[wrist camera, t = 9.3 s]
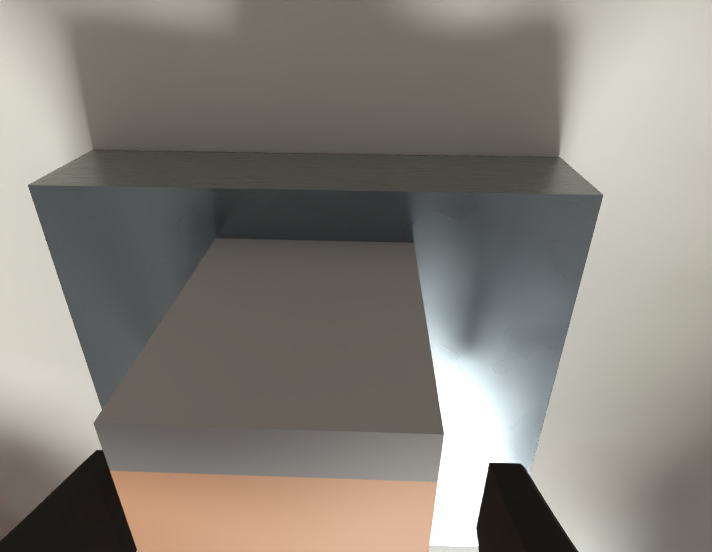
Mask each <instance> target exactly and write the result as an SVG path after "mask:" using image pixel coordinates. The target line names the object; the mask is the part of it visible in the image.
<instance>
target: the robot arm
mask: <svg viewBox="0 0 712 552" xmlns="http://www.w3.org/2000/svg"><path fill="white" fill-rule="evenodd" d="M476 531H477V539H478V547H479V552H578V551H577V549H576V548H575V546H574V545H573V543H572V542H571V540H570V539H569V537H568V536H567V534H566V533H565V531H564V530H563V528H562V527H561V525H560V523H559V522H558V520H557V519H556V517H555V516H554V514H553V513H552V511H551V509H550V508H549V506H548V505H547V503H546V502H545V500H544V498H543V497H542V495H541V493H540V492H539V490H538V489H537V487H536V485H535V484H534V482H533V480H532V479H531V477H530V475H529V474H528V472H527V470H526V468H525V467H524V466H523V465H522V464H521V463H490V462H489V466H488V471H487V476H486V481H485V486H484V491H483V496H482V501H481V506H480V511H479V516H478V521H477V526H476ZM136 551H137V548H136V545H135V542H134V539H133V536H132V533H131V531H130V528H129V525H128V522H127V519H126V516H125V513H124V510H123V507H122V504H121V501H120V499H119V496H118V493H117V490H116V487H115V484H114V481H113V478H112V475H111V472H110V469H109V467H108V464H107V461H106V458H105V455H104V452H103V450H96V451H95V452H94V453H93V454H92V455H91V456H90V457H89V458H88V459H87V460H86V461H84V462H83V463H82V464H81V465H80V466H79V467H78V468H77V469H76V470H75V471H74V472H73V473H72V474H71V475H70V476H69V477H68V478H67V479H65V480H64V481H63V482H62V483H61V484H60V485H59V486H58V487H57V488H56V489H55V490H54V491H53V492H52V493H51V494H50V495H49V496H48V497H47V498H46V499H45V500H44V501H43V502H42V503H40V504H39V505H38V506H37V507H36V508H35V509H34V510H33V511H32V512H31V513H30V514H29V515H28V516H27V517H26V518H25V519H24V520H23V521H21V522H20V523H19V524H18V525H17V526H16V527H15V528H14V529H13V530H12V531H11V532H10V533H9V534H7V535H6V536H5V537H4V538H3V539H2V540H1V541H0V552H136Z"/></svg>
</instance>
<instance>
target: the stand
mask: <svg viewBox="0 0 712 552" xmlns="http://www.w3.org/2000/svg"><path fill="white" fill-rule="evenodd" d="M28 187H29V190H30V193H31V196H32V199H33V202H34V205H35V208H36V211H37V214H38V217H39V220H40V223H41V226H42V229H43V232H44V235H45V238H46V241H47V244H48V247H49V250H50V253H51V256H52V259H53V262H54V265H55V268H56V271H57V275H58V278H59V281H60V284H61V287H62V290H63V293H64V296H65V299H66V302H67V305H68V308H69V311H70V314H71V317H72V320H73V323H74V326H75V329H76V332H77V335H78V338H79V341H80V344H81V347H82V350H83V353H84V356H85V359H86V362H87V365H88V368H89V371H90V374H91V377H92V380H93V383H94V387H95V390H96V393H97V396H98V399H99V402H100V405H101V408H102V410H103V408H104V407H105V405H106V404H107V402H108V401H109V399H110V398H111V396H112V395H113V393H114V392H115V390H116V389H117V387H118V386H119V384H120V383H121V381H122V380H123V378H124V376H125V375H126V373H127V372H128V370H129V369H130V367H131V366H132V364H133V363H134V361H135V360H136V358H137V357H138V355H139V354H140V352H141V351H142V349H143V348H144V346H145V345H146V343H147V342H148V340H149V339H150V337H151V336H152V334H153V332H154V331H155V329H156V328H157V326H158V325H159V323H160V322H161V320H162V319H163V317H164V316H165V314H166V313H167V311H168V310H169V308H170V307H171V305H172V304H173V302H174V301H175V299H176V298H177V296H178V295H179V293H180V292H181V290H182V289H183V287H184V285H185V284H186V282H187V281H188V279H189V278H190V276H191V275H192V273H193V272H194V270H195V269H196V267H197V266H198V264H199V263H200V261H201V260H202V258H203V257H204V255H205V254H206V252H207V251H208V249H209V248H210V246H211V245H212V243H213V241H214V240H215V238H226V239H271V240H315V241H359V242H403V243H414V246H415V253H416V259H417V265H418V271H419V278H420V284H421V290H422V297H423V303H424V309H425V315H426V322H427V328H428V334H429V341H430V347H431V353H432V360H433V366H434V372H435V378H436V385H437V391H438V397H439V404H440V410H441V416H442V422H443V429H444V441H443V449H442V456H441V464H440V471H439V478H438V486H437V493H436V500H435V508H434V515H433V523H432V530H431V537H430V545H438V546H466V547H478V539H477V531H476V526H477V521H478V516H479V511H480V506H481V501H482V496H483V491H484V486H485V481H486V476H487V471H488V466H489V462H490V463H521V464H522V465H523V466H524V467H525V468H526V470H527V472H528V474H529V475H530V472H531V468H532V464H533V460H534V456H535V453H536V449H537V445H538V441H539V437H540V434H541V430H542V426H543V422H544V418H545V415H546V411H547V407H548V403H549V399H550V396H551V392H552V388H553V384H554V380H555V377H556V373H557V369H558V365H559V361H560V358H561V354H562V350H563V346H564V342H565V339H566V335H567V331H568V327H569V323H570V320H571V316H572V312H573V308H574V304H575V301H576V297H577V293H578V289H579V285H580V282H581V278H582V274H583V270H584V266H585V262H586V259H587V255H588V251H589V247H590V243H591V240H592V236H593V232H594V228H595V224H596V221H597V217H598V213H599V209H600V205H601V202H602V198H603V194H602V193H600V192H599V191H598V190H597V189H596V188H595V187H594V186H592V185H591V184H590V183H589V182H588V181H587V180H585V179H584V178H583V177H582V176H581V175H580V174H579V173H577V172H576V171H575V170H574V169H573V168H572V167H570V166H569V165H568V164H567V163H566V162H565V161H564V160H562V159H561V158H560V157H498V156H433V155H368V154H303V153H237V152H172V151H107V150H92V151H90V152H88V153H86V154H84V155H82V156H81V157H79V158H77V159H75V160H73V161H71V162H69V163H68V164H66V165H64V166H62V167H60V168H58V169H57V170H55V171H53V172H51V173H49V174H47V175H46V176H44V177H42V178H40V179H38V180H36V181H35V182H33V183H31V184H29V185H28Z"/></svg>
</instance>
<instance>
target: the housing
mask: <svg viewBox="0 0 712 552" xmlns="http://www.w3.org/2000/svg"><path fill="white" fill-rule="evenodd" d="M94 426H95V429H96V432H97V435H98V437H99V440H100V443H101V446H102V449H103V452H104V455H105V458H106V461H107V464H108V467H109V469H110V472H111V475H112V478H113V481H114V484H115V487H116V490H117V493H118V496H119V499H120V501H121V504H122V507H123V510H124V513H125V516H126V519H127V522H128V525H129V528H130V531H131V533H132V536H133V539H134V542H135V545H136V548H137V551H138V552H429V545H430V537H431V530H432V523H433V515H434V508H435V500H436V493H437V486H438V478H439V471H440V464H441V456H442V449H443V441H444V429H443V422H442V416H441V410H440V404H439V397H438V391H437V385H436V378H435V372H434V366H433V360H432V353H431V347H430V341H429V334H428V328H427V322H426V315H425V309H424V303H423V297H422V290H421V284H420V278H419V271H418V265H417V259H416V253H415V246H414V243H403V242H359V241H315V240H271V239H226V238H215V240H214V241H213V243H212V245H211V246H210V248H209V249H208V251H207V252H206V254H205V255H204V257H203V258H202V260H201V261H200V263H199V264H198V266H197V267H196V269H195V270H194V272H193V273H192V275H191V276H190V278H189V279H188V281H187V282H186V284H185V285H184V287H183V289H182V290H181V292H180V293H179V295H178V296H177V298H176V299H175V301H174V302H173V304H172V305H171V307H170V308H169V310H168V311H167V313H166V314H165V316H164V317H163V319H162V320H161V322H160V323H159V325H158V326H157V328H156V329H155V331H154V332H153V334H152V336H151V337H150V339H149V340H148V342H147V343H146V345H145V346H144V348H143V349H142V351H141V352H140V354H139V355H138V357H137V358H136V360H135V361H134V363H133V364H132V366H131V367H130V369H129V370H128V372H127V373H126V375H125V376H124V378H123V380H122V381H121V383H120V384H119V386H118V387H117V389H116V390H115V392H114V393H113V395H112V396H111V398H110V399H109V401H108V402H107V404H106V405H105V407H104V408H103V410H102V411H101V413H100V414H99V416H98V417H97V419H96V420H95V422H94Z"/></svg>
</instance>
